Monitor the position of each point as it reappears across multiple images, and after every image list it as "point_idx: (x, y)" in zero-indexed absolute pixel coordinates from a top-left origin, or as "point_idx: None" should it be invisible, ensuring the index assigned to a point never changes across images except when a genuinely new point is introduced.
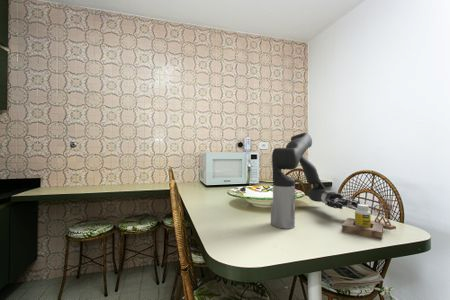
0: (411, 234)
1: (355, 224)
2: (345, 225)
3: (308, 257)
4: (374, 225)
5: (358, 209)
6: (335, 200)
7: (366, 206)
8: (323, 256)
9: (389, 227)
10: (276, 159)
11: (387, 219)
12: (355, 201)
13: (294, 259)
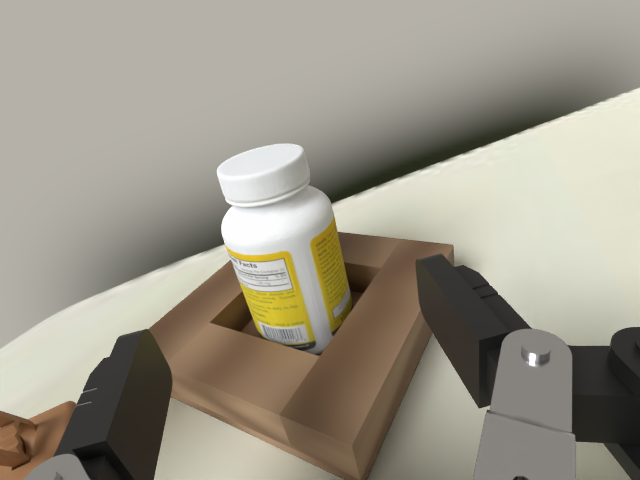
0: (53, 349)
1: (350, 293)
2: (432, 243)
3: (564, 119)
4: (233, 292)
5: (307, 187)
6: (543, 426)
7: (256, 149)
8: (525, 130)
9: (74, 402)
10: None
11: (1, 412)
12: (50, 465)
13: (596, 107)
